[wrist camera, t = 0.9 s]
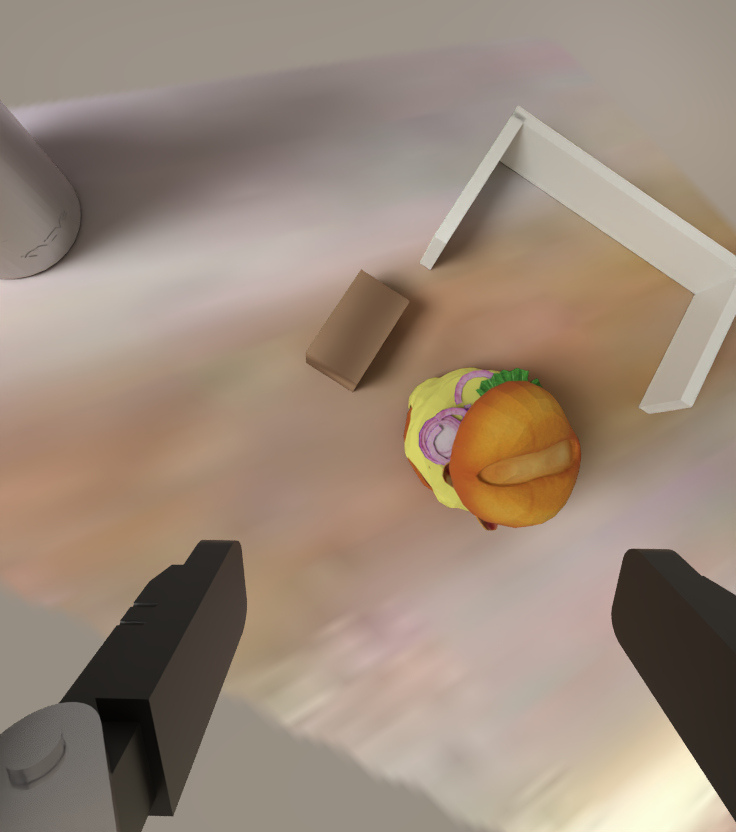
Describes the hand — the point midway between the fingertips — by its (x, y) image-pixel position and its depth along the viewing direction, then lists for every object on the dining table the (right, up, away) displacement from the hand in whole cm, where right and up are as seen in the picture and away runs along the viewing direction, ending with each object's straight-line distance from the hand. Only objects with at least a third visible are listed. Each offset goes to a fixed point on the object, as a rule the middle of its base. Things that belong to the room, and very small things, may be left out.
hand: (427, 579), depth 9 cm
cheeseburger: (+6, +1, +24) cm, 25 cm away
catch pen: (+15, +15, +26) cm, 34 cm away
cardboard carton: (-2, +9, +23) cm, 25 cm away
